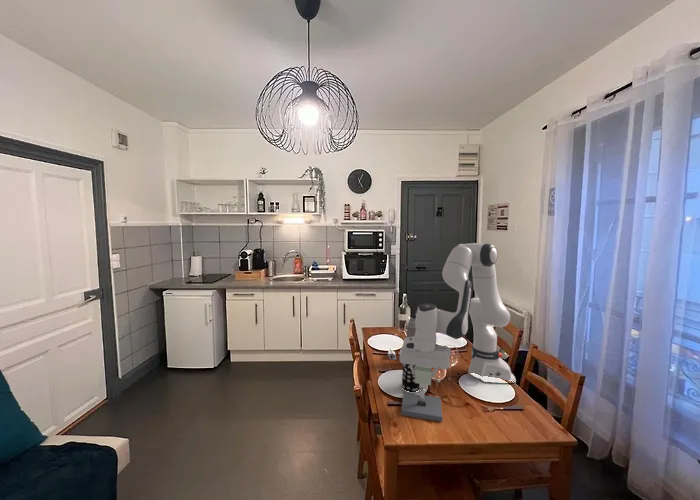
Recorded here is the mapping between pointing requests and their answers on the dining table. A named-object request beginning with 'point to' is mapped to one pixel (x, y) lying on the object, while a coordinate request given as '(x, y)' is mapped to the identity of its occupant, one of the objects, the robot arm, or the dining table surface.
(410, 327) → the thermos bottle
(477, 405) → the dining table surface
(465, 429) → the dining table surface
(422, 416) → the charcoal board
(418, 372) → the sage green cube
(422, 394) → the steel post
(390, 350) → the salt and pepper shakers
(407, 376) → the white-spotted black cylinder
